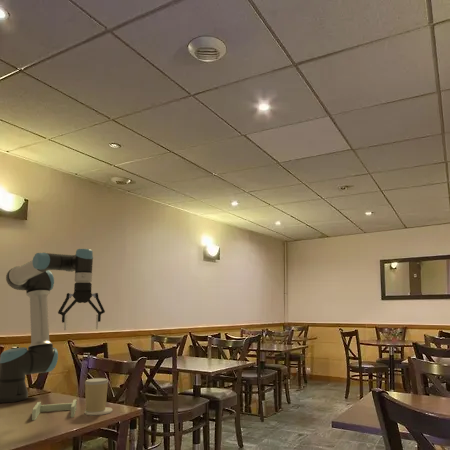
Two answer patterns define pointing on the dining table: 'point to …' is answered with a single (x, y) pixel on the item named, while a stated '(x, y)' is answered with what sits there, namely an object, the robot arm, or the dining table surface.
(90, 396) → the coffee cup
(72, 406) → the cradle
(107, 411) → the coaster
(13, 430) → the dining table surface
